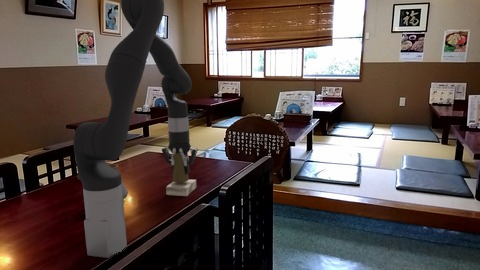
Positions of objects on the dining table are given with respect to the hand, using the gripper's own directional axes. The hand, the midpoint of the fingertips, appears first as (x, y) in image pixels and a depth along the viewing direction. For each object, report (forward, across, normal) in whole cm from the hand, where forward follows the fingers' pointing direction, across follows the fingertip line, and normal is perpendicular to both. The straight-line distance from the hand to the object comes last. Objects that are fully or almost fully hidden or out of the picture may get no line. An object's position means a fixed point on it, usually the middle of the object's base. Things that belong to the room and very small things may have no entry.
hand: (180, 174), depth 136 cm
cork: (+2, 0, 0) cm, 3 cm away
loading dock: (+6, 0, 0) cm, 6 cm away
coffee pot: (+7, -20, -20) cm, 29 cm away
